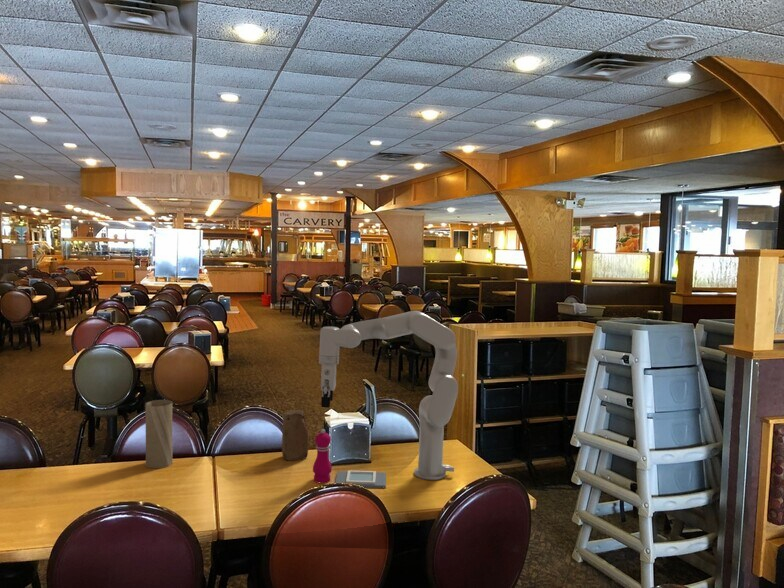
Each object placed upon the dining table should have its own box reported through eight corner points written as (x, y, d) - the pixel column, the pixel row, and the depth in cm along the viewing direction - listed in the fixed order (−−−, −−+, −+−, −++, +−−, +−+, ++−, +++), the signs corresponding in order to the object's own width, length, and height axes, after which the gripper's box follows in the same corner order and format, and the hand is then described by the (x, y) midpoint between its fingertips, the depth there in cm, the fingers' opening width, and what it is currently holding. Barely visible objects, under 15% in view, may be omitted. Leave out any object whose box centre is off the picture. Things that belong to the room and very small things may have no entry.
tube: (141, 463, 248) (140, 402, 246) (164, 457, 256) (164, 398, 253) (153, 470, 242) (153, 407, 239) (177, 464, 249) (177, 403, 247)
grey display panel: (386, 474, 244) (386, 470, 244) (385, 488, 231) (385, 483, 231) (337, 473, 244) (338, 469, 244) (334, 486, 231) (335, 482, 231)
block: (282, 461, 255) (283, 414, 254) (281, 455, 263) (282, 409, 261) (308, 460, 258) (309, 413, 256) (307, 454, 265) (308, 408, 263)
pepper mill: (316, 484, 232) (317, 433, 231) (309, 478, 239) (310, 427, 237) (334, 482, 236) (335, 430, 234) (327, 475, 242) (328, 425, 240)
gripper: (336, 364, 225) (334, 410, 227) (340, 355, 243) (338, 398, 244) (316, 363, 225) (314, 409, 227) (321, 354, 243) (319, 397, 244)
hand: (326, 403), depth 235 cm, fingers open, 9 cm apart
